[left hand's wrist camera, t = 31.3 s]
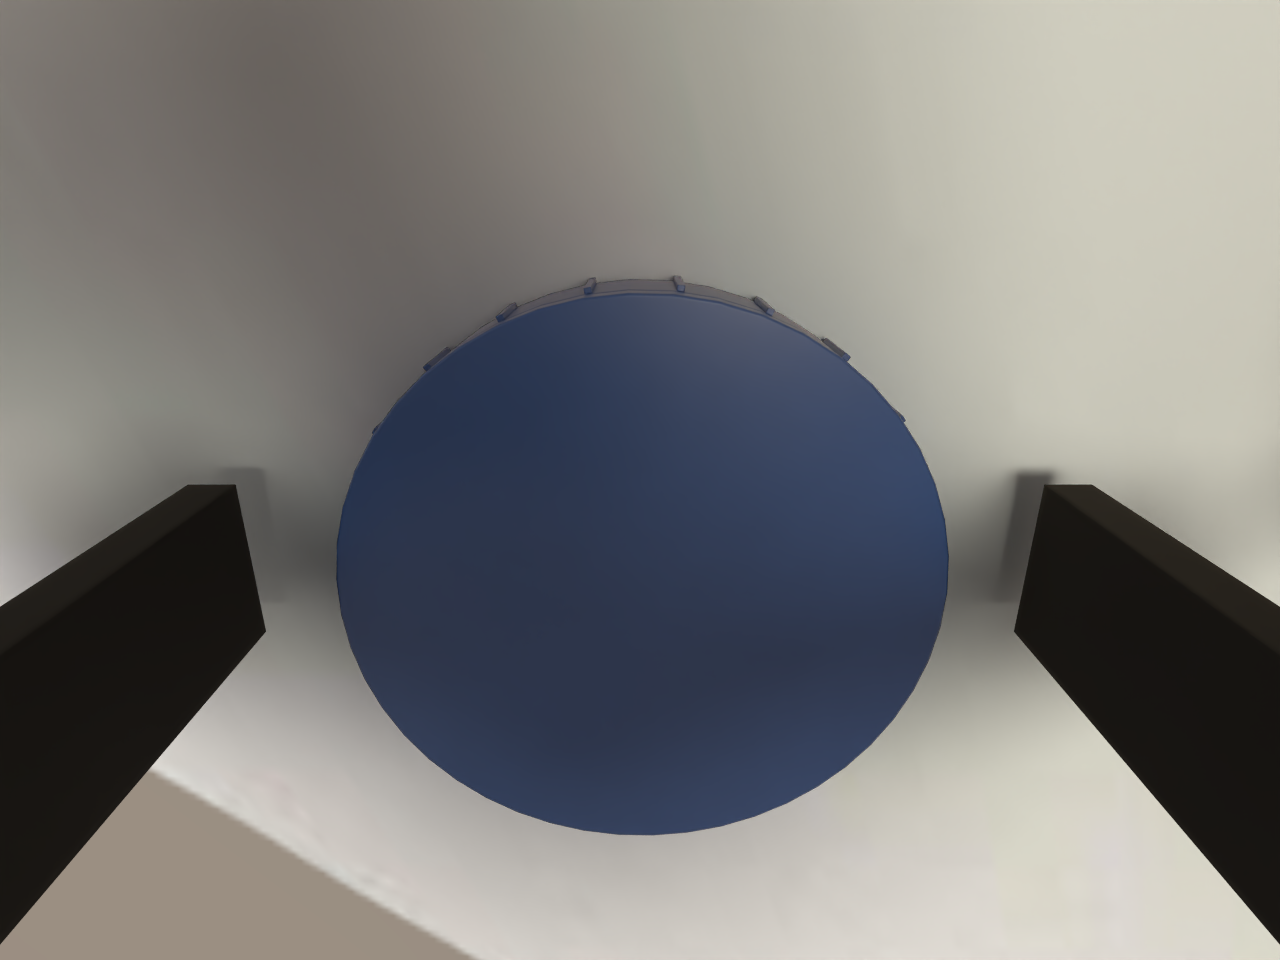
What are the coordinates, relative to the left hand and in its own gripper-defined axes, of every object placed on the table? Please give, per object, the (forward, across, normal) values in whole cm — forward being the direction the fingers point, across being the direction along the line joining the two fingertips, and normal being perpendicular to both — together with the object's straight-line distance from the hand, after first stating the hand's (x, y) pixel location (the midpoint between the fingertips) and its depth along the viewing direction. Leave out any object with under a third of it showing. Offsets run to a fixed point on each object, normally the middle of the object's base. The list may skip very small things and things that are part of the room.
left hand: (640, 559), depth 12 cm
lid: (-1, 0, 0) cm, 1 cm away
